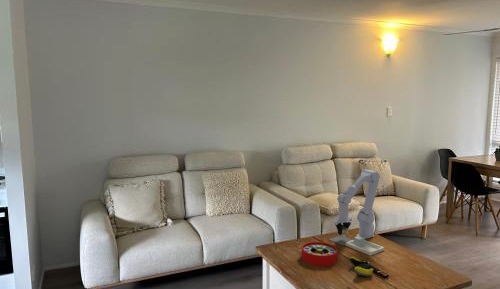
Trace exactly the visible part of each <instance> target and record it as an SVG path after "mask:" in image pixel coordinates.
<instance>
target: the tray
mask: <svg viewBox="0 0 500 289" xmlns="http://www.w3.org/2000/svg"><path fill="white" fill-rule="evenodd" d="M345 246H346V247H348V248H350V249H353V250H356V251H358V252H361V253H363V254H366V255H367V256H370V257H371V256H373V255H376V254H379V253H381V252H383V251H385V247H384V246H381V245H379V244H376V243H374V242H371V241H368V240H366V239H365V245H364V246H363V247H358V246H355V245H354V239H352V240H351V241H348V242H346V245H345Z"/></svg>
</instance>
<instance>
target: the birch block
mask: <svg viewBox="0 0 500 289" xmlns="http://www.w3.org/2000/svg"><path fill="white" fill-rule="evenodd" d="M337 236H339V237H342V238H345V237H347V238H349V228H348V229H347V228H344V227H343V229H342V234H341V235H339V234H338V233H337Z"/></svg>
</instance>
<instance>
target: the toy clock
mask: <svg viewBox="0 0 500 289" xmlns="http://www.w3.org/2000/svg"><path fill="white" fill-rule="evenodd" d="M338 251H339V250H338V248H337V247H336V246H335V245H333V244H331V243H327V242H321V241H310V242H306V243H304V244H303V245H301V259H302V260H303V261H304V262H305V263H307V264H310V265H313V266H317V267H323V266H324V267H329V266H333V265H335V264H336V263H337V262H338V255H339V254H338Z"/></svg>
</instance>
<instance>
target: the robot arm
mask: <svg viewBox="0 0 500 289" xmlns="http://www.w3.org/2000/svg"><path fill="white" fill-rule="evenodd" d="M380 177H381V176H380V173H379V172H378V171H375V170H371V169H368V168H366V169H365V168H364V169H363V170H362V171H360V176H359V177H358V179H357V180H356V181H355V182H354V183H353V185H349V186H348V187H347V188H346V189H345V190H344V192H343V193H340V194H339V195H337V196H338V197H337V202H338V219H336V220H335V221H333V225H334V226H335V227H336V229H337V235H338V234H339V235H341V234H342V229H343V227H344V228H347V229H348V230H349V228H350V226H351V225H352V217H349V204H350V203H351V201H352V198H353V197H354V196H355V195H356V194H357V193H358V190H359V188H360V187H361V186H362V185H363V184H364V183H366V182H367V184H368V187H367V192H366V194H365V200H364V202H363V207H361V208H360V209H359V211H358V213H357V216H356V218H357V221H358V227H359V228H358V234H356V237H357V236H360V237H363V238H365V240H366V239H367V240H368V239H369V238H372V237H375V235H374V233H375V232H374V231H375V226H374V224H373V223H374V221H375V213H374V211H373V206H374V202H375V199H376V196H377V195H376V194H377V190H378V186H379V180H380Z"/></svg>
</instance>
